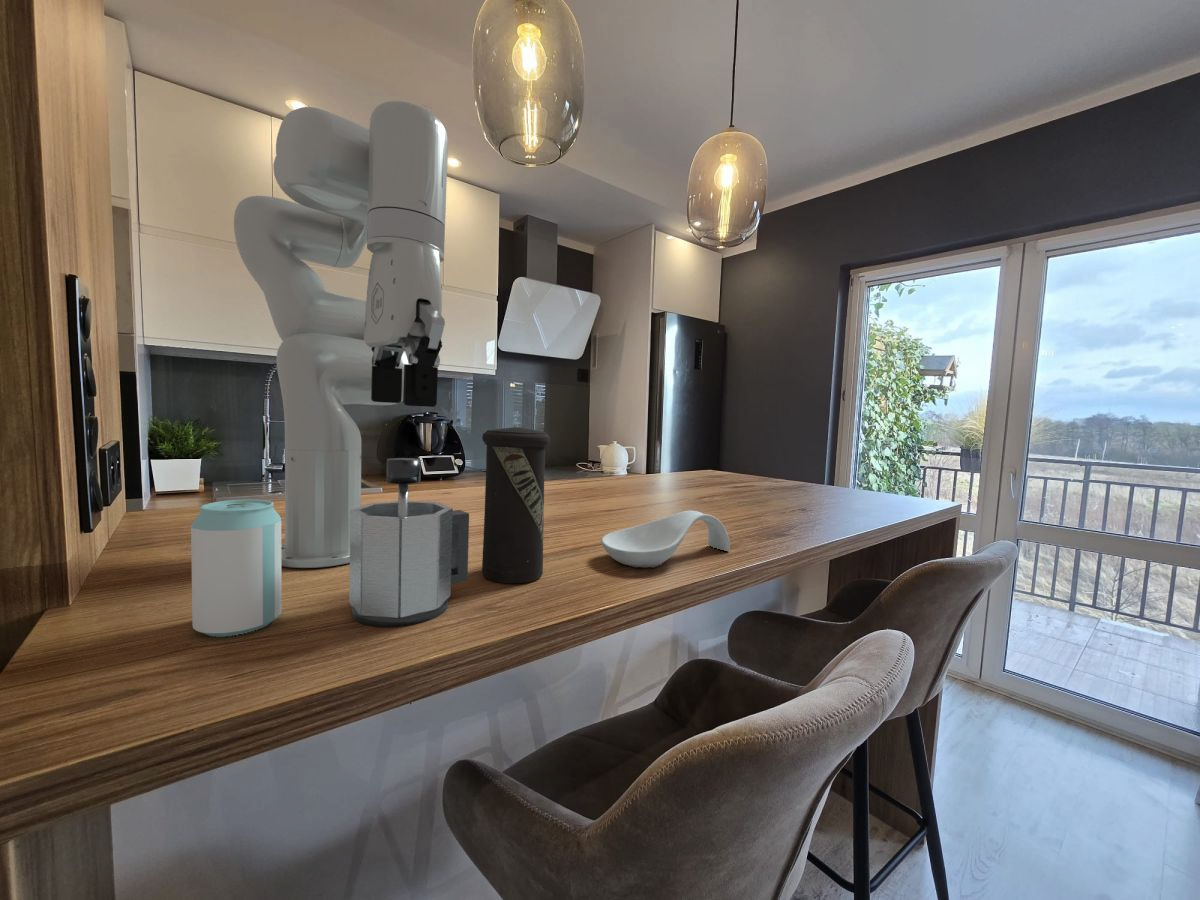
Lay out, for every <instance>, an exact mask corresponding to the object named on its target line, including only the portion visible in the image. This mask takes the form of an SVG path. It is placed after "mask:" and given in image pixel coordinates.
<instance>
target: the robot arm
mask: <svg viewBox="0 0 1200 900" xmlns="http://www.w3.org/2000/svg"><path fill="white" fill-rule="evenodd" d="M448 139H449V137H448V134H447V130H446V127H445V126H444V124H443V122H442V121H441V120H440V119H439V118H438V117H437V116H436V115H435V114H434V113H433V112H431V111H429V110H427V108H425V107H422V106H420V105H418V104H415V103H411V102H406V101H401V100H390V101H385V102H382V103H380V104H378V105H377V106H376V107H375V108H374V109H373V110H372V112H371V115H370V120H369V128H367V127H365V126H363V125H360V124H358V123H356V122H354V121H352V120H349V119H346V118H344V117H342V116H339V115H337V114H334V113H332V112H329V111H328V110H325V109H321V108H317V107H312V106H303V107H299V108H296V109H293V110H291V111H289V112H288V113H287V114H286V115H285V116H284V118H283V120H282V121H281V123H280V125H279V129H278V133H277V136H276V142H275V158H274V160H273V164H272V166H273V174H274V179H275V181H276V183H277V185H278V186H279V188H280V189H281V190H282V192H283V193H284V194H285V195H286V196H287V197H288V198H289V199H291V200H293V201H294V202H293V201H290V200H287V199H283V198H278V197H274V196H269V195H252V196H248V197H245V198H243V199H241V200H240V201H239V202H238V204H237V205H236V208H235V210H234V214H233V231H234V237H235V243H236V247H237V249H238V253H239V255H240V258H241V260H242V263H243V264H244V266H245V267H246V270H247V271H248V272H249V274H250V276H251V277H252V278H253V279H254V281H255V282H256V284H257V285H258V287H260V289H261V291H262V292H263V294H264V298H265V301H266V305H267V307H268V310H269V313H270V316H271V320H272V322H273V325H274V327H275V330H276V332H277V335H278V336H279V338H280V339H281V341H282V342H281V343H280V345H279V347H278V349H277V352H276V369H277V376H278V381H279V387H280V391H281V392H280V393H281V399H282V405H283V417H284V544H282V545H281V567H284V568H285V567H286V568H294V569H297V568H298V569H313V568H315V569H316V568H328V567H333V566H341V565H345V564H350V510H352V509H355V508H358V507H361V506H362V436H361V432H360V429H359V427H358V425H357V424H356V421H355V420H353V418H352V417H351V416H350V414H349V412H347V410H346V409H345V408H344V406H343V405H370V406H393V405H398V404H399V403H402V402H403V404H404V405H405V406H409V407H410V406H411V407H425V408H426V407H428V408H429V407H430V408H431V407H432V408H433V407H434V408H435V407H436V406H437V404H438V403H437V402H438V375H439V374H438V373H439V370H438V369H439V366H440V364H441V357H440V355H439V354H440V352H441V350H442V347H443V344H442V343H443V342H442V337H443V333H444V328H445V326H446V325H445V324H446V323H445V322H446V321H445V318H444V317H443V315H442V311H443V310H442V309H443V308H442V307H443V303H442V302H443V300H442V298H443V297H442V296H443V294H442V292H443V291H442V270H441V263H442V262H444V260H445V241H446V239H445V237H446V236H445V235H446V234H445V233H446V212H447V211H446V209H447V208H446V207H447V184H448V183H447V181H448V180H447V179H448V157H449V156H448V154H449V153H448V152H449V151H448V150H449V140H448ZM365 246H366V249H367V250H368V251H369V252H371V253H372V254H371V258H370V259H371V260H370V264H369V270H368V280H367V288H366V300H365V299H364V300H363V299H359V298H353V297H350V296H349V297H348V296H344V295H338V294H335V293H331V292H328V291H327V289H326V288H325V285H324V283H323V281H322V279H321V277H320V276H319V275H318V274H317V273H316V271H315V270H313V268H311V266H310V265H308V264H307V263H306V262H310V263H311V262H312V263H315V264H320V265H324V266H328V267H332V268H338V269H340V268H341V269H346V268H350V267H352V266H354V264H355V263H356V262H357V261H358V260H359V258H360V256H361V254H362V252H363V250H364V249H365ZM304 261H306V262H304Z"/></svg>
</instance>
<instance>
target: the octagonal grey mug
mask: <svg viewBox="0 0 1200 900" xmlns="http://www.w3.org/2000/svg"><path fill="white" fill-rule="evenodd" d="M453 509H454V508H453V507H451V506H448V505H446V504H443V503H441V502H436V501H419V500H408V517H398V500H395V501H383V502H374V503H373V502H371V503H367V504H365V505H361V507H358V508H355V509H352V510H350V563H349V598H348V599H349V604H350V606H351V617H352V618H353V620H354V621H356V622H357V623H359V624H363V625H366V626H372V627H378V628H380V627H381V628H394V627H395V628H396V627H398V628H399V627H405V626H411V625H417V624H421V623H425V622H427V621H430V620H432V619H434V618H437V617H438V616H440V615H442V614H444V613H445V612H446V611H447V609H448V607H449V598H450V597H451V589H452V588H451V587H452V585H453V584H458V583H462V582H467V581H468V580H469V579H468V577H469V576H468V571H469V570H468V569H469V538H470V537H469V536H470V534H469V533H470V528H469V527H470V513H469V512H466V511H464V510H461V509H458V510H457V509H456V510H453Z"/></svg>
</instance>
